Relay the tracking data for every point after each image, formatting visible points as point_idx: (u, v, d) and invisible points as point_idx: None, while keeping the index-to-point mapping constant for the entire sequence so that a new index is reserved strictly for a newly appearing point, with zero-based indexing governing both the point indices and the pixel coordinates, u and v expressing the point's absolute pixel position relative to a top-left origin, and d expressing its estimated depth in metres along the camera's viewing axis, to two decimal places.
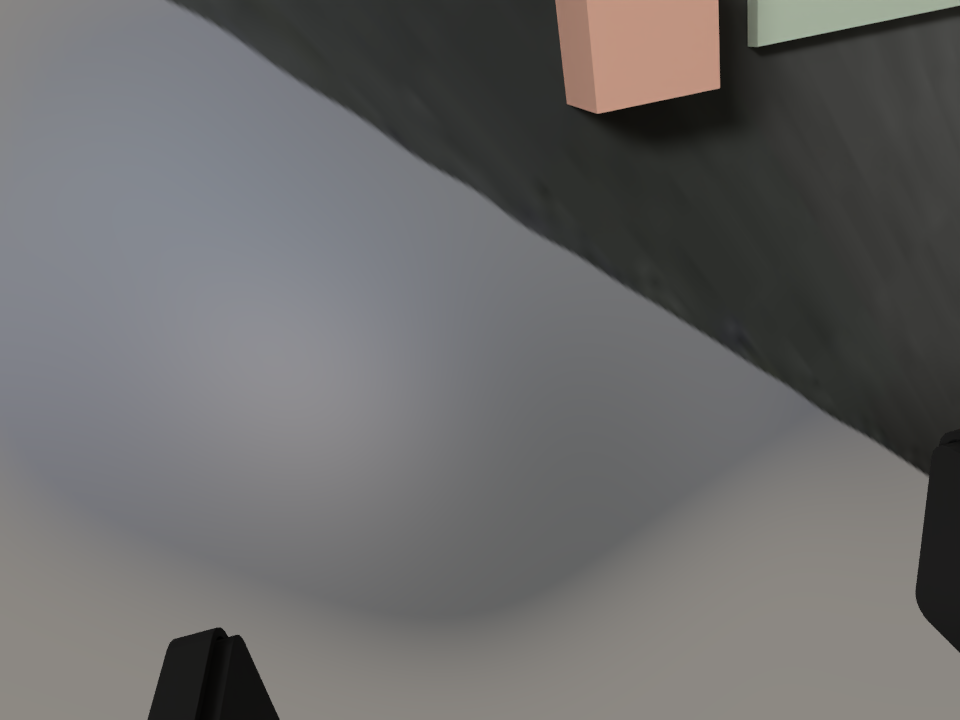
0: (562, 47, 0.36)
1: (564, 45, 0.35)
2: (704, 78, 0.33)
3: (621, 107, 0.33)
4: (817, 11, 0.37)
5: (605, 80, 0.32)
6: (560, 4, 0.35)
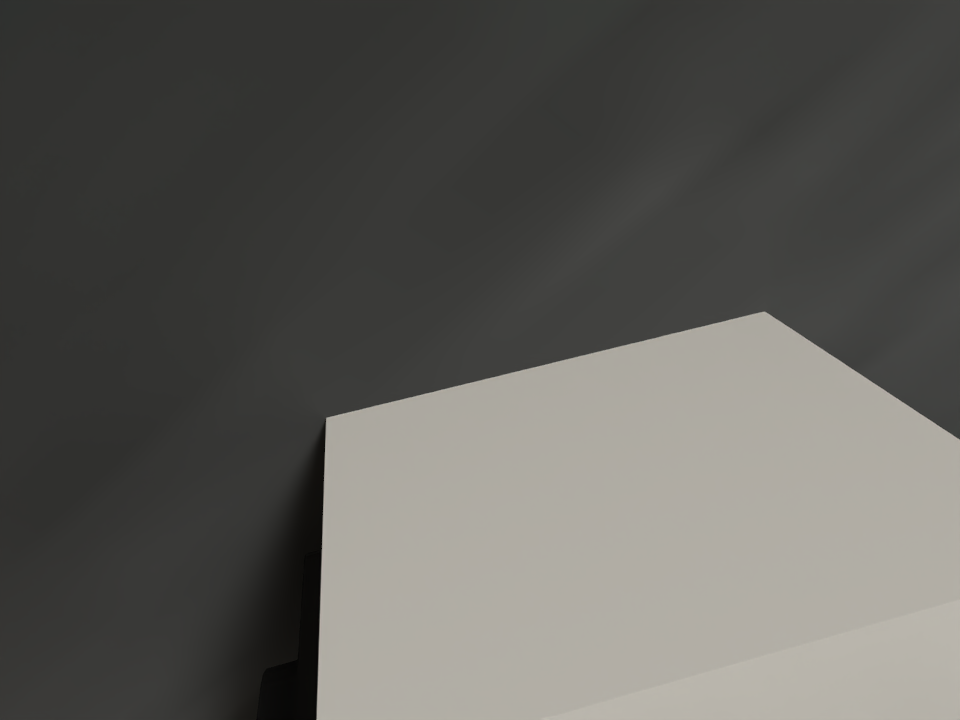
0: None
1: None
2: None
3: None
4: None
5: None
6: None
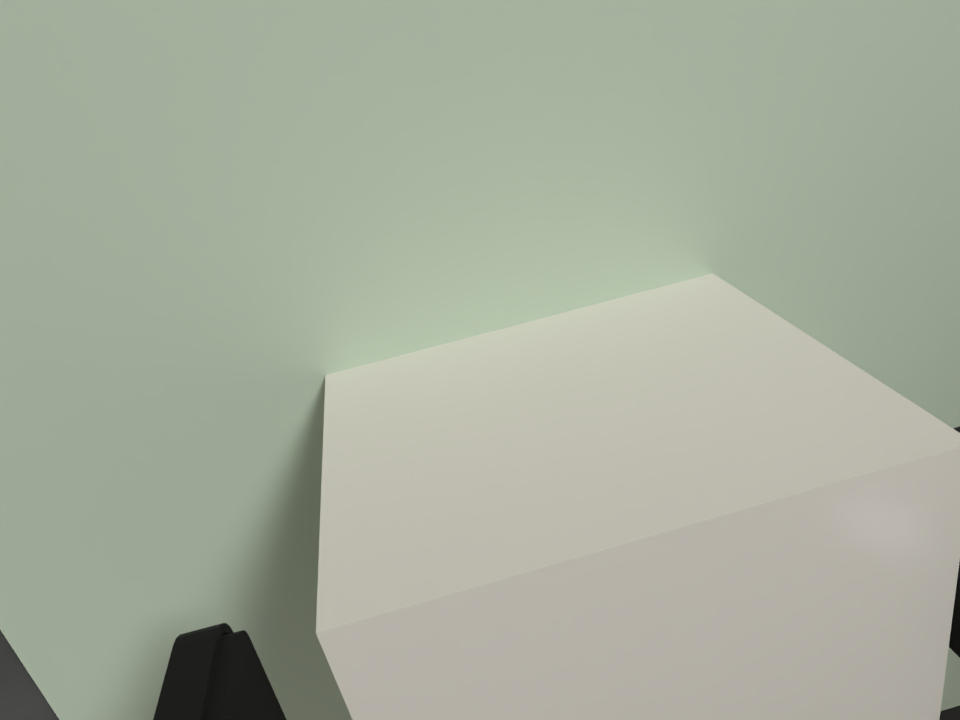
0: None
1: None
2: None
3: None
4: None
5: None
6: None
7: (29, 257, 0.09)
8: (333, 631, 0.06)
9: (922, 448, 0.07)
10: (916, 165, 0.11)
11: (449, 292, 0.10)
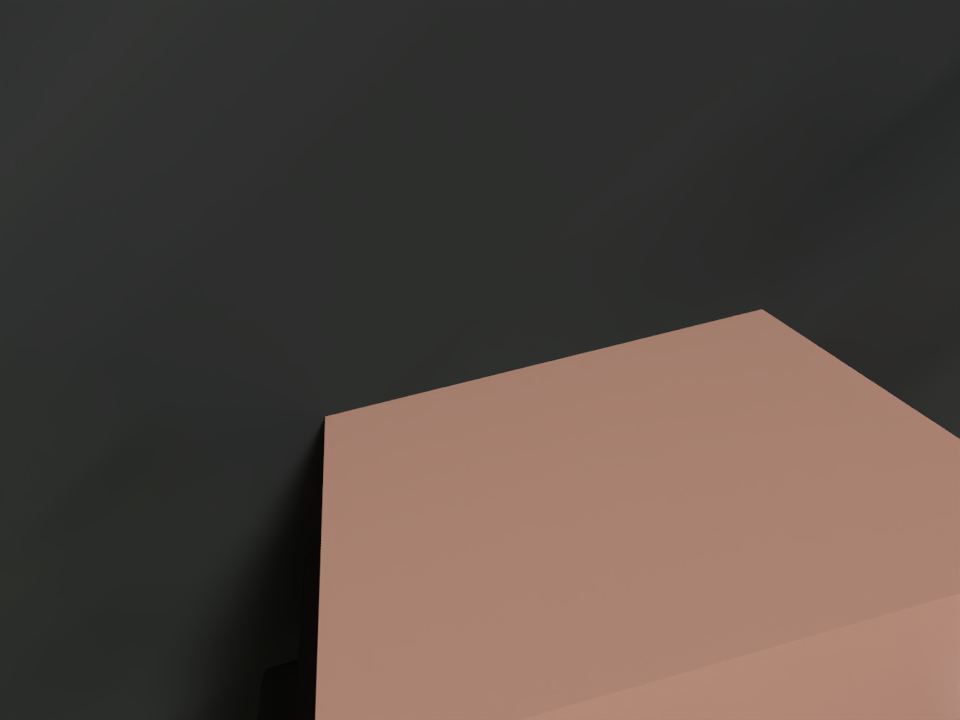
0: (539, 381, 0.09)
1: (556, 393, 0.09)
2: None
3: None
4: None
5: None
6: (700, 360, 0.09)
7: None
8: None
9: None
10: None
11: None
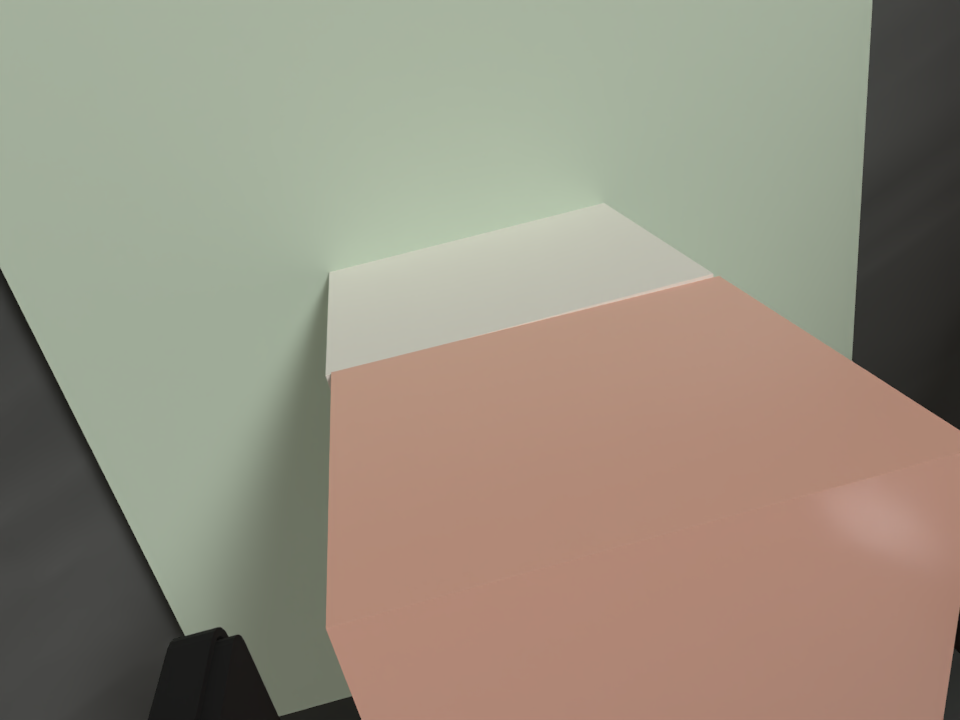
0: (519, 338, 0.10)
1: (534, 349, 0.10)
2: None
3: None
4: (29, 191, 0.13)
5: (493, 631, 0.06)
6: (661, 318, 0.10)
7: (130, 183, 0.14)
8: None
9: (684, 278, 0.11)
10: (746, 126, 0.15)
11: (415, 213, 0.15)
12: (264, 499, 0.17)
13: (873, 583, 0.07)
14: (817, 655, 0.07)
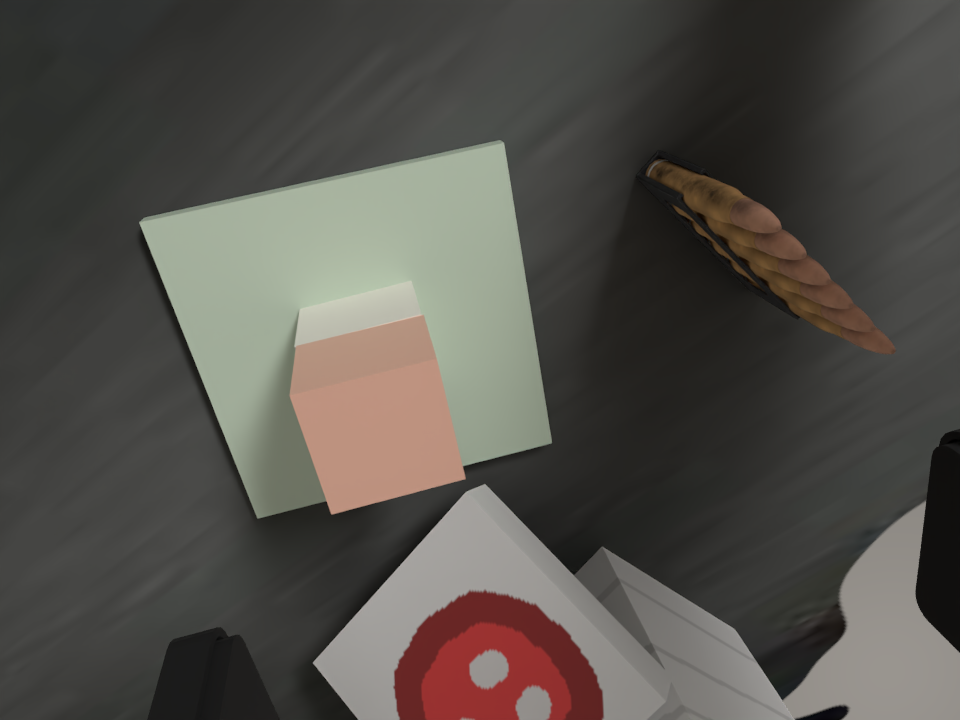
0: (355, 335, 0.33)
1: (357, 338, 0.32)
2: (339, 497, 0.31)
3: (299, 420, 0.29)
4: (186, 280, 0.36)
5: (326, 399, 0.29)
6: (397, 328, 0.32)
7: (223, 276, 0.36)
8: None
9: (412, 315, 0.33)
10: (468, 249, 0.38)
11: (333, 285, 0.37)
12: (273, 405, 0.39)
13: (419, 392, 0.29)
14: (410, 412, 0.30)
